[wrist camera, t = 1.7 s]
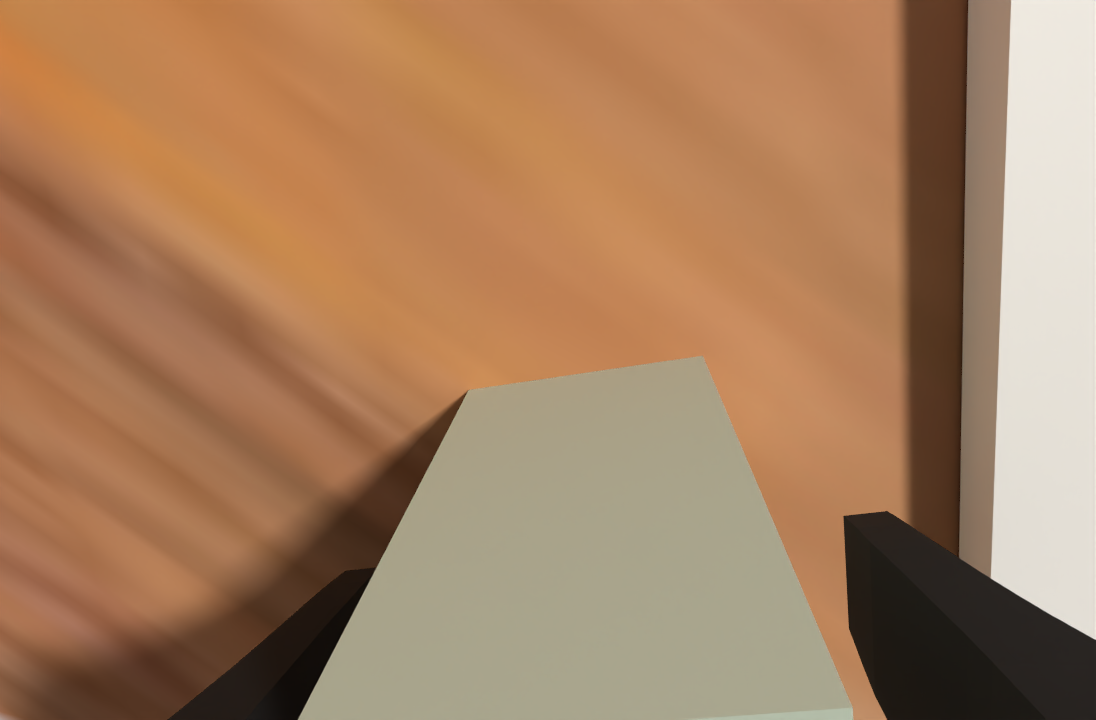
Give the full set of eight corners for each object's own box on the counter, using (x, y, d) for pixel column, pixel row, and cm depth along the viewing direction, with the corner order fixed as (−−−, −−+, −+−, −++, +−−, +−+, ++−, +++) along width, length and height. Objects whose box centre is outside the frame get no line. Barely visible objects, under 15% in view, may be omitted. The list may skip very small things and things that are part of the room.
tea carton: (701, 355, 11) (852, 707, 4) (736, 644, 13) (877, 1198, 6) (444, 392, 11) (226, 752, 5) (513, 663, 13) (423, 1184, 7)
